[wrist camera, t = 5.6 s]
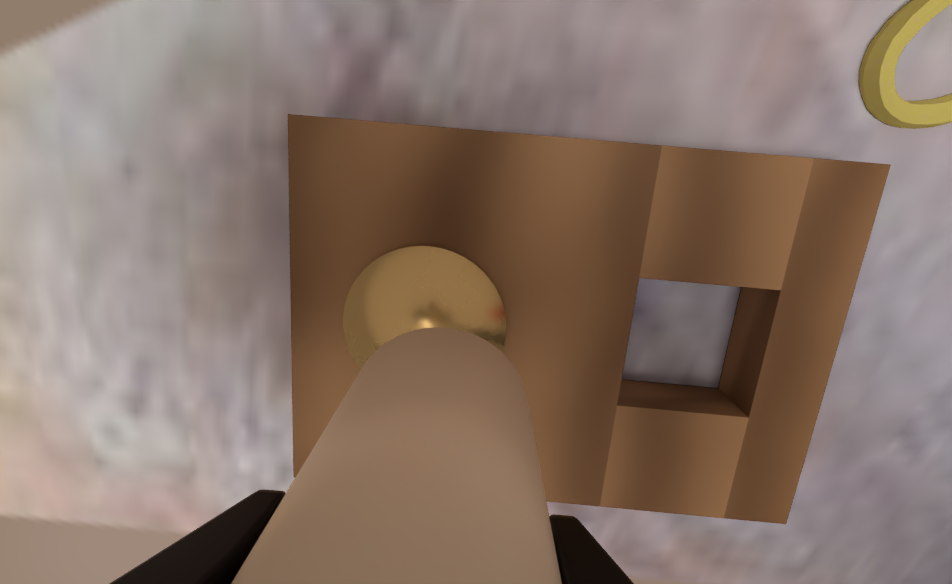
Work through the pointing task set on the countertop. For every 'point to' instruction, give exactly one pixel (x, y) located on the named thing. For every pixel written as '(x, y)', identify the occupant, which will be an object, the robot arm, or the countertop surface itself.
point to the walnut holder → (597, 292)
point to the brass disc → (420, 299)
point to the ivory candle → (417, 478)
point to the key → (881, 71)
